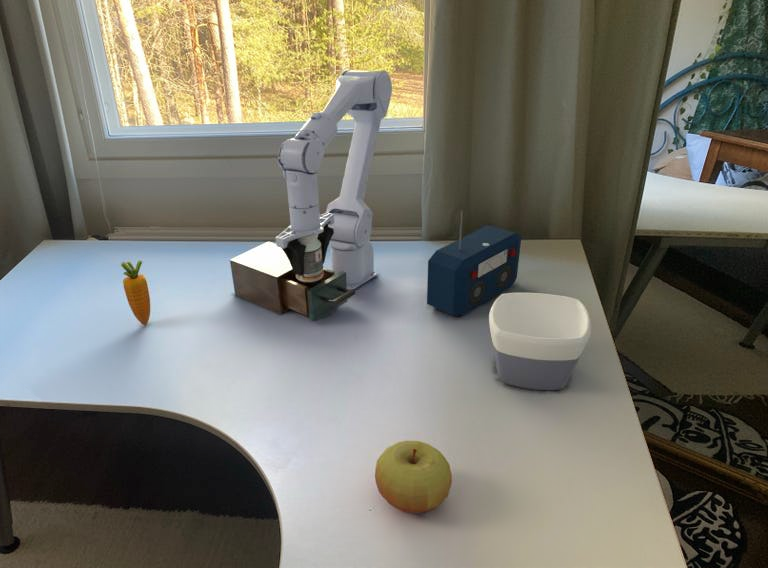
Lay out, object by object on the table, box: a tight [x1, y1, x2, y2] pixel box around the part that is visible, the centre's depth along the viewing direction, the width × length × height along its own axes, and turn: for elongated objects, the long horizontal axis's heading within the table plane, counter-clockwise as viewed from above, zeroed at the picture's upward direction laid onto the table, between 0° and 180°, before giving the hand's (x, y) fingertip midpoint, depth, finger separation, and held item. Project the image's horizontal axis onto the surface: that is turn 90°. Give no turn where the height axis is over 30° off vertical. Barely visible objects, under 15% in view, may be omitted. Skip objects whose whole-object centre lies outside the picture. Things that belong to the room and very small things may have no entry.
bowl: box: [488, 292, 592, 391], centre depth 103 cm, size 15×15×11 cm
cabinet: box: [229, 241, 293, 315], centre depth 136 cm, size 15×12×9 cm
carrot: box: [120, 260, 151, 326], centre depth 127 cm, size 5×5×15 cm
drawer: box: [280, 267, 357, 323], centre depth 128 cm, size 18×10×7 cm, turn 46°
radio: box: [426, 210, 522, 317], centre depth 124 cm, size 21×9×20 cm, turn 129°
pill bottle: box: [296, 234, 324, 282], centre depth 124 cm, size 6×6×10 cm
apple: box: [374, 440, 453, 514], centre depth 83 cm, size 10×10×8 cm
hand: (309, 268), depth 125 cm, fingers closed on pill bottle, 5 cm apart
